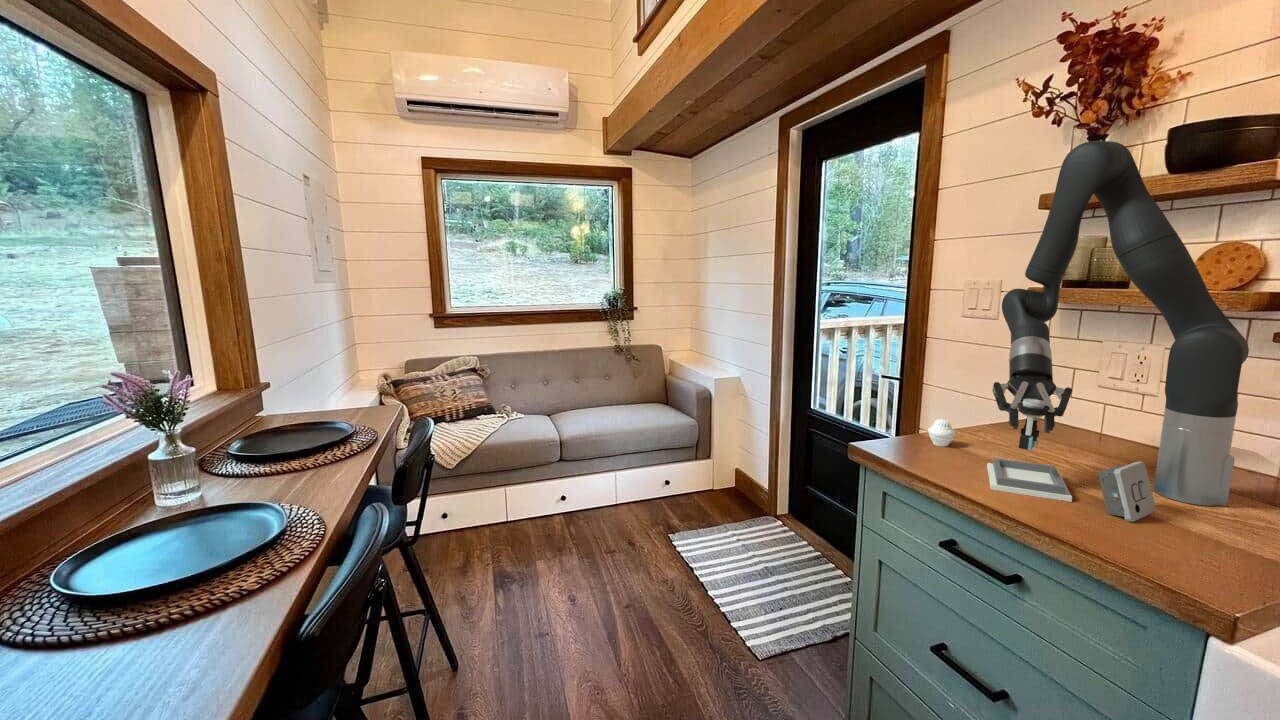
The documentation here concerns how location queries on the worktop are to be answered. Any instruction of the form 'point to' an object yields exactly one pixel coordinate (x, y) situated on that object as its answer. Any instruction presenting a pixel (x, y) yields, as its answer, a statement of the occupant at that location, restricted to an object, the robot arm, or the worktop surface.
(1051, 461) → the worktop surface
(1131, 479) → the electrical outlet
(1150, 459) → the worktop surface
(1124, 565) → the worktop surface
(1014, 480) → the grey square tray
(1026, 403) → the push button
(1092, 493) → the worktop surface
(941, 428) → the muffin
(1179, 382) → the robot arm
